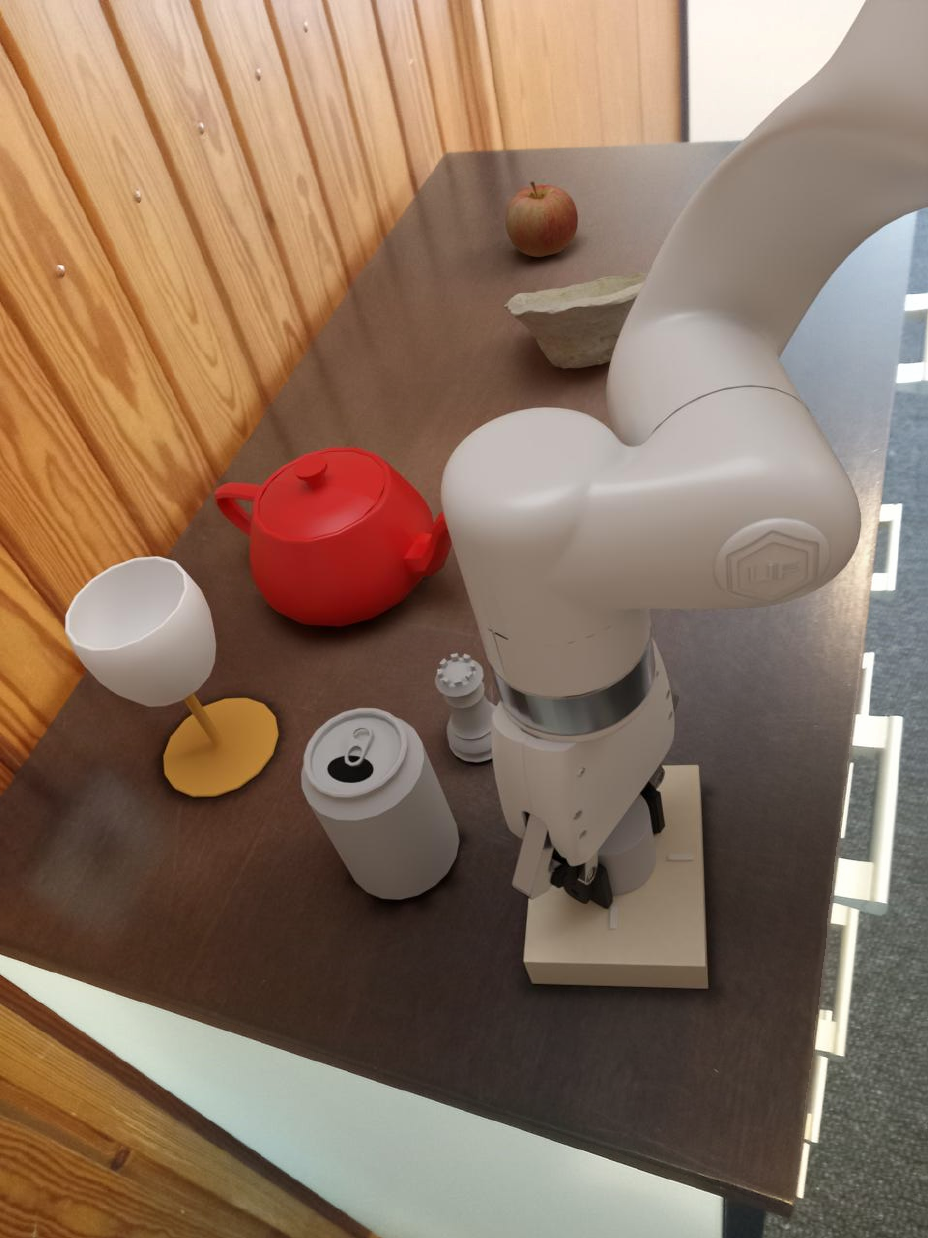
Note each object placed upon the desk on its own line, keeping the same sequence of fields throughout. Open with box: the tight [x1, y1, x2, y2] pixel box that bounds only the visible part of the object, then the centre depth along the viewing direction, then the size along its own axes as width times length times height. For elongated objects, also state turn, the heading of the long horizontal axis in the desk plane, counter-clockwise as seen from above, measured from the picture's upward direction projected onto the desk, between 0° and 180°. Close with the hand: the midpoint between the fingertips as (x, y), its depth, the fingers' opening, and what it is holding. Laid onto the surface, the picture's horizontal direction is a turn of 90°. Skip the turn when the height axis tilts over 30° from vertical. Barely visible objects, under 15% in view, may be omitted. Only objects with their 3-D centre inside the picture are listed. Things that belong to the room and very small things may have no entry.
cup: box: [64, 556, 280, 798], centre depth 72 cm, size 9×9×16 cm
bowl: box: [503, 272, 648, 369], centre depth 98 cm, size 15×14×10 cm
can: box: [300, 707, 460, 900], centre depth 63 cm, size 8×8×12 cm
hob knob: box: [598, 794, 656, 895], centre depth 59 cm, size 5×5×5 cm
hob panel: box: [522, 764, 709, 990], centre depth 62 cm, size 10×13×3 cm
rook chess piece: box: [434, 652, 497, 763], centre depth 70 cm, size 4×4×8 cm
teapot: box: [213, 446, 452, 627], centre depth 82 cm, size 25×16×12 cm, turn 64°
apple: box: [505, 180, 579, 258], centre depth 115 cm, size 8×8×8 cm
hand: (614, 854), depth 61 cm, fingers closed on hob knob, 4 cm apart
